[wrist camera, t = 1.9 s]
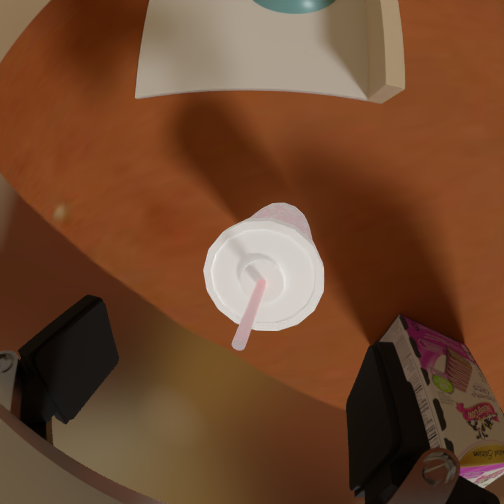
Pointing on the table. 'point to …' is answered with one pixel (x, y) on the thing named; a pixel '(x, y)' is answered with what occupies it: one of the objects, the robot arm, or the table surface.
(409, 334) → the candy bar box
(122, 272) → the table surface
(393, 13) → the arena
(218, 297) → the beverage cup
